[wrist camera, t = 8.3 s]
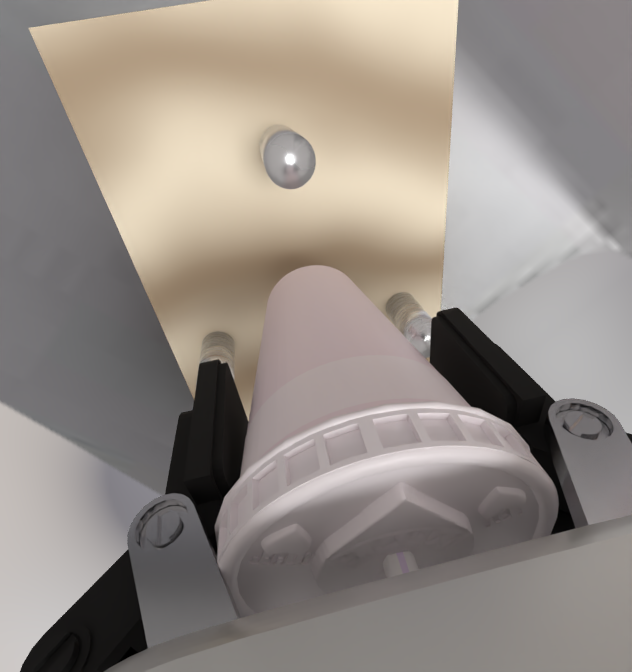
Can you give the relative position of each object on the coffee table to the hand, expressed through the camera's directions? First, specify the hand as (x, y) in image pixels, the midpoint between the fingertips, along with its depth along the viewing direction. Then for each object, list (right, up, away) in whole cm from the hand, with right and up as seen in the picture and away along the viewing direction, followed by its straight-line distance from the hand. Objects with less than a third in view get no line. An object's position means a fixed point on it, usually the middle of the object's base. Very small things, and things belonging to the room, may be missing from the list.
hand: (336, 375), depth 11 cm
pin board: (-2, +5, +7) cm, 9 cm away
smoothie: (-1, +2, +4) cm, 4 cm away
